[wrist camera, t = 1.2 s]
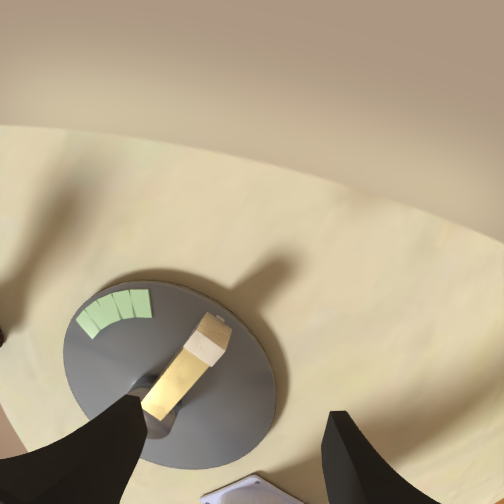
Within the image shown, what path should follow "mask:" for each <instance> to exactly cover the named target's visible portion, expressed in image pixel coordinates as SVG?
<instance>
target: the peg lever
mask: <svg viewBox="0 0 504 504" xmlns="http://www.w3.org/2000/svg"><path fill="white" fill-rule="evenodd" d="M231 332H232V328H230V327H229V326H227V325H226V324H225V323H223V322H222V321H220V320H219V319H218V318H216V317H215V316H214V315H212V314H211V313H210V312H208V311H207V312H206V313H205V315H204V316H203V317H202V318H201V320H200V321H199V322H198V324H197V325H196V326H195V328H194V329H193V331H192V333H191V334H190V336H189V338H188V339H187V340H186V341H185V343H184V344H183V345H182V347H181V348H180V349H179V350H178V352H177V353H176V354H175V356H174V357H173V358H172V359H171V361H170V362H169V363H168V365H167V366H166V367H165V368H164V370H163V371H162V372H161V374H160V375H159V376H155V375H146V376H142V377H140V378H139V379H138V380H137V381H136V382H135V383H134V385H133V386H132V387H131V389H130V390H129V392H128V393H127V394H128V395H133V396H138V397H140V400H141V405H142V409H143V413H144V417H145V421H146V425H147V429H148V434H147V437H146V438H147V439H153V440H157V439H162V438H165V437H166V436H168V435H169V433H170V432H171V429H172V427H173V425H174V423H175V420H176V418H177V416H178V413H179V411H180V409H181V406H182V397H183V396H184V395H185V393H186V392H187V391H188V390H189V389H190V388H191V387H192V386H193V384H194V383H195V382H196V381H197V380H198V379H199V378H200V376H201V375H202V374H203V373H204V372H205V371H206V370H207V368H208V367H209V366H210V367H212V366H213V365H214V364H215V363H216V362H217V360H218V359H219V358H220V357H221V356H222V355H223V354H224V352H225V351H226V348H227V345H228V342H229V339H230V335H231Z"/></svg>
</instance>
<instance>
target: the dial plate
mask: <svg viewBox="0 0 504 504" xmlns="http://www.w3.org/2000/svg"><path fill="white" fill-rule="evenodd" d="M207 311H208V312H210V313H211V314H212V315H214V316H215V317H216V318H218V319H219V320H220V321H222V322H223V323H225V324H226V325H227V326H229V327H230V328H232V332H231V335H230V339H229V342H228V345H227V348H226V351H225V352H224V354H223V355H222V356H221V357H220V358H219V359H218V360H217V362H216V363H215V364H214V365H213V366H212V367H210V366H209V367H208V368H207V370H206V371H205V372H204V373H203V374H202V375H201V376H200V378H199V379H198V380H197V381H196V382H195V383H194V384H193V386H192V387H191V388H190V389H189V390H188V391H187V392H186V393H185V395H184V396H183V397H182V406H181V409H180V411H179V413H178V416H177V418H176V420H175V423H174V425H173V427H172V429H171V432H170V433H169V435H168V436H166V437H165V438H162V439H157V440H153V439H147V438H146V441H145V444H144V447H143V450H142V453H141V455H140V458H141V459H144V460H146V461H149V462H152V463H155V464H158V465H162V466H166V467H170V468H177V469H189V470H198V469H209V468H215V467H219V466H223V465H226V464H229V463H231V462H234V461H236V460H238V459H240V458H242V457H243V456H245V455H246V454H248V453H249V452H251V451H252V450H253V449H254V448H255V447H256V446H257V445H258V444H259V443H260V442H261V441H262V440H263V438H264V437H265V435H266V434H267V432H268V430H269V429H270V426H271V423H272V421H273V418H274V413H275V408H276V385H275V379H274V373H273V370H272V367H271V364H270V361H269V359H268V357H267V355H266V353H265V351H264V349H263V347H262V346H261V344H260V343H259V341H258V340H257V338H256V337H255V335H254V334H253V333H252V332H251V331H250V329H249V328H248V327H247V326H246V325H245V324H244V323H243V322H242V321H241V320H240V319H239V318H238V317H237V316H236V315H234V314H233V313H232V312H231V311H230V310H228V309H227V308H225V307H224V306H223V305H221V304H220V303H218V302H217V301H215V300H213V299H212V298H210V297H208V296H206V295H204V294H202V293H200V292H198V291H195V290H193V289H190V288H188V287H185V286H181V285H178V284H174V283H171V282H164V281H157V280H136V281H128V282H123V283H120V284H117V285H113V286H111V287H109V288H107V289H105V290H103V291H101V292H99V293H97V294H95V295H94V296H93V297H91V298H90V299H89V300H87V301H86V302H85V303H84V304H83V305H82V306H81V307H80V308H79V309H78V310H77V312H76V313H75V315H74V316H73V318H72V319H71V321H70V324H69V326H68V328H67V331H66V335H65V339H64V348H63V359H64V367H65V373H66V377H67V380H68V383H69V386H70V388H71V391H72V393H73V395H74V397H75V399H76V401H77V403H78V404H79V406H80V408H81V409H82V411H83V412H84V413H85V415H86V416H87V417H88V419H89V420H90V421H91V420H92V419H94V418H95V417H96V416H98V415H99V414H100V413H102V412H103V411H104V410H106V409H107V408H108V407H109V406H111V405H112V404H113V403H115V402H116V401H117V400H119V399H120V398H121V397H122V396H124V395H125V394H127V393H128V392H129V390H130V389H131V387H132V386H133V385H134V383H135V382H136V381H137V380H138V379H139V378H140V377H142V376H146V375H155V376H159V375H160V374H161V372H162V371H163V370H164V368H165V367H166V366H167V365H168V363H169V362H170V361H171V359H172V358H173V357H174V356H175V354H176V353H177V352H178V350H179V349H180V348H181V347H182V345H183V344H184V343H185V341H186V340H187V339H188V338H189V336H190V334H191V333H192V331H193V329H194V328H195V326H196V325H197V324H198V322H199V321H200V320H201V318H202V317H203V316H204V315H205V313H206V312H207Z"/></svg>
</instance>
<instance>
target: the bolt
mask: <svg viewBox="0 0 504 504" xmlns="http://www.w3.org/2000/svg"><path fill="white" fill-rule="evenodd" d="M1 341H3V336H2V333H1V331H0V347H2V345H3V342H1Z"/></svg>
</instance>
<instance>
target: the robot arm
mask: <svg viewBox="0 0 504 504" xmlns="http://www.w3.org/2000/svg"><path fill="white" fill-rule="evenodd" d="M147 434H148V429H147V425H146V421H145V417H144V413H143V409H142V405H141V400H140V397H138V396H133V395H128V394H125V395H124V396H122V397H121V398H120V399H119V400H117V401H116V402H115V403H113V404H112V405H111V406H109V407H108V408H107V409H106V410H104V411H103V412H102V413H100V414H99V415H98V416H96V417H95V418H94V419H92V420H91V421H89V422H88V423H87V424H85V425H83V426H82V427H80V428H79V429H77V430H76V431H74V432H73V433H71V434H69V435H68V436H66V437H64V438H62V439H60V440H58V441H56V442H54V443H52V444H50V445H48V446H45V447H43V448H40V449H37V450H35V451H32V452H29V453H26V454H23V455H19V456H15V457H11V458H6V459H0V504H119V503H120V500H121V497H122V495H123V492H124V490H125V488H126V486H127V483H128V481H129V479H130V477H131V475H132V473H133V471H134V468H135V466H136V464H137V462H138V460H139V458H140V455H141V453H142V450H143V447H144V444H145V441H146V437H147ZM321 451H322V467H323V473H324V478H325V483H326V489H327V494H328V499H329V504H441V503H439V502H437V501H435V500H433V499H432V498H430V497H428V496H427V495H425V494H424V493H422V492H421V491H419V490H418V489H416V488H415V487H414V486H412V485H411V484H410V483H408V482H407V481H406V480H405V479H404V478H402V477H401V476H400V475H399V474H398V473H397V472H396V471H395V470H394V469H393V468H392V467H391V466H390V465H389V464H388V463H387V462H386V461H385V460H384V459H383V458H382V457H381V456H380V455H379V454H378V453H377V451H376V450H375V449H374V448H373V446H372V445H371V444H370V443H369V442H368V440H367V439H366V438H365V436H364V435H363V434H362V432H361V431H360V430H359V428H358V427H357V426H356V424H355V423H354V421H353V420H352V418H351V417H350V415H349V414H348V412H347V411H330V413H329V417H328V421H327V425H326V429H325V433H324V437H323V441H322V444H321ZM199 501H200V502H201V503H203V504H304V503H303V502H301V501H299V500H297V499H295V498H294V497H292V496H290V495H288V494H287V493H285V492H283V491H282V490H280V489H278V488H277V487H275V486H273V485H272V484H270V483H269V482H267V481H265V480H264V479H262V478H261V477H259V476H257V475H250V476H248V477H246V478H244V479H242V480H240V481H238V482H235V483H233V484H231V485H229V486H226V487H224V488H222V489H219V490H217V491H215V492H212V493H210V494H207V495H205V496H202V497H200V500H199Z"/></svg>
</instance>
